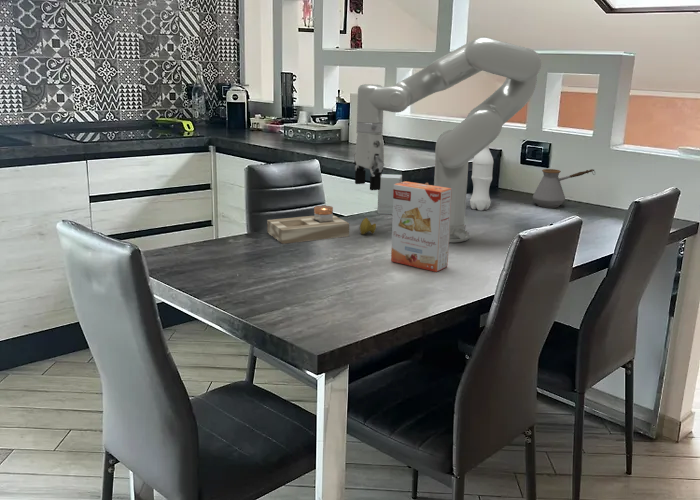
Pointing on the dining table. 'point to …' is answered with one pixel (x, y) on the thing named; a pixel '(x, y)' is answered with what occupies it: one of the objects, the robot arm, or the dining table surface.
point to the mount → (306, 229)
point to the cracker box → (421, 225)
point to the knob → (367, 227)
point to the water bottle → (481, 179)
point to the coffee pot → (552, 188)
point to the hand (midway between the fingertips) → (367, 186)
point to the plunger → (323, 213)
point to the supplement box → (387, 193)
